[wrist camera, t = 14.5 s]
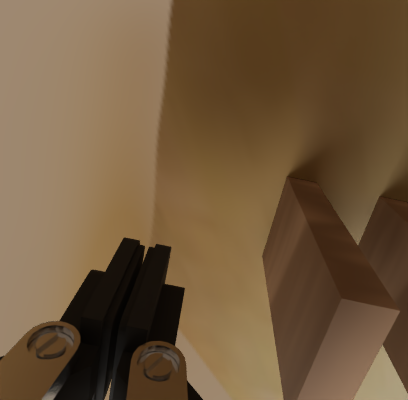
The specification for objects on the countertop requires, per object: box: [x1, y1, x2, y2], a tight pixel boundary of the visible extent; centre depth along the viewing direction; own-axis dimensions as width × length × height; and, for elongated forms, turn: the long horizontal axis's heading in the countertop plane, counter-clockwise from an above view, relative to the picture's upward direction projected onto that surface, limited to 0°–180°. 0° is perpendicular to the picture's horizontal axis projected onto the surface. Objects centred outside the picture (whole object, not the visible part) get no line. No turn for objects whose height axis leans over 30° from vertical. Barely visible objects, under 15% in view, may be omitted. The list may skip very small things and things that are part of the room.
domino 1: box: [262, 177, 400, 400], centre depth 15 cm, size 2×5×10 cm, turn 169°
